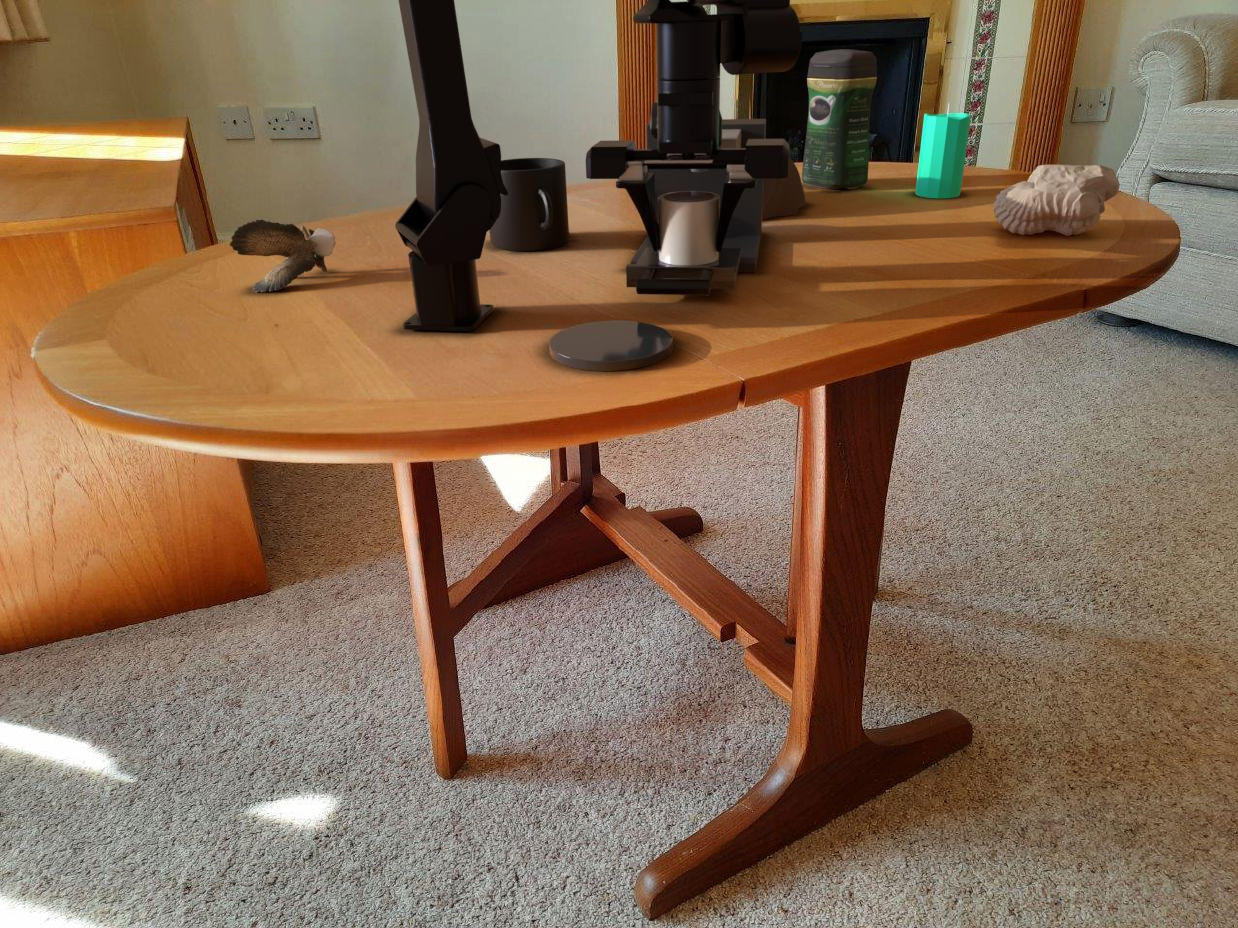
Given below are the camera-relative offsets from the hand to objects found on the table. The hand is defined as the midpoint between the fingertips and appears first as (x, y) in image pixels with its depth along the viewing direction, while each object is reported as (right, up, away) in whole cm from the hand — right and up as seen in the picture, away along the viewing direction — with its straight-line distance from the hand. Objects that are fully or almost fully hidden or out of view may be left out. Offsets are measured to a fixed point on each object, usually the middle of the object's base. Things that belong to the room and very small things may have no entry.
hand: (687, 250), depth 87 cm
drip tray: (-1, -3, -2) cm, 4 cm away
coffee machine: (+2, +3, +13) cm, 13 cm away
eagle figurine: (-42, -2, +7) cm, 42 cm away
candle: (+38, +17, +37) cm, 56 cm away
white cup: (0, 0, +1) cm, 1 cm away
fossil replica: (+43, +5, +15) cm, 45 cm away
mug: (-17, +5, +18) cm, 25 cm away
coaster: (-7, -12, -15) cm, 21 cm away
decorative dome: (+9, +14, +34) cm, 38 cm away
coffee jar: (+26, +21, +46) cm, 56 cm away
